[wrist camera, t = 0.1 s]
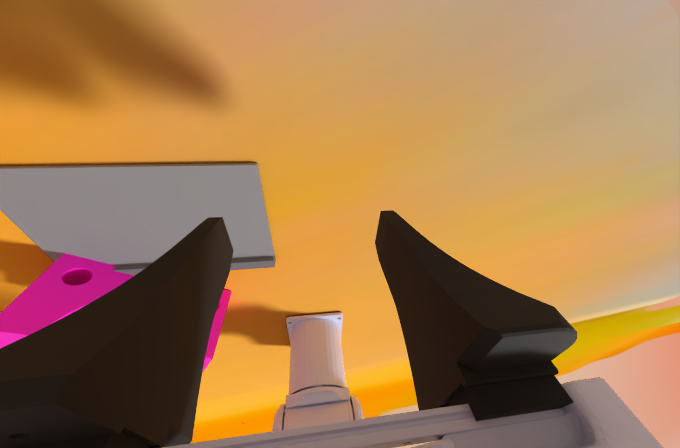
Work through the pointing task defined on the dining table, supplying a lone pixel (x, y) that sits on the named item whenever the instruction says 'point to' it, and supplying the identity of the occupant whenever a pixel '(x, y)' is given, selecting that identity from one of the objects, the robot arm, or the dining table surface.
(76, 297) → the toy block
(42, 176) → the rubber mat
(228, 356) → the dining table surface
